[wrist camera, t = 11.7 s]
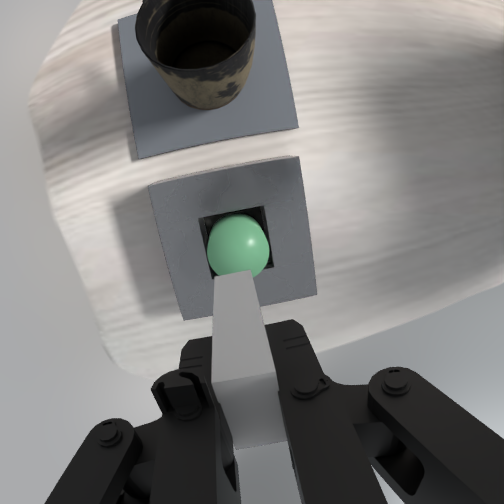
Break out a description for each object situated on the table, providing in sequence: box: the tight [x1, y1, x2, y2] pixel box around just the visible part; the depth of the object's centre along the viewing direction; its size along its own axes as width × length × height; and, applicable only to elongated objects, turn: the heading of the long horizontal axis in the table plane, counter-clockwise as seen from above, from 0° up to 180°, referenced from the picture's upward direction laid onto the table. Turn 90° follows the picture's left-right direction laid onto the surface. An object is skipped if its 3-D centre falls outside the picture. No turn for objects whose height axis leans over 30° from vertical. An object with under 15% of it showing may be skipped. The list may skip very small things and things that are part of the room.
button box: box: [148, 156, 317, 320], centre depth 23 cm, size 10×10×4 cm
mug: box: [135, 0, 256, 110], centre depth 15 cm, size 8×6×12 cm
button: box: [207, 213, 269, 277], centre depth 21 cm, size 4×4×3 cm
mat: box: [118, 0, 299, 159], centre depth 21 cm, size 12×12×1 cm
